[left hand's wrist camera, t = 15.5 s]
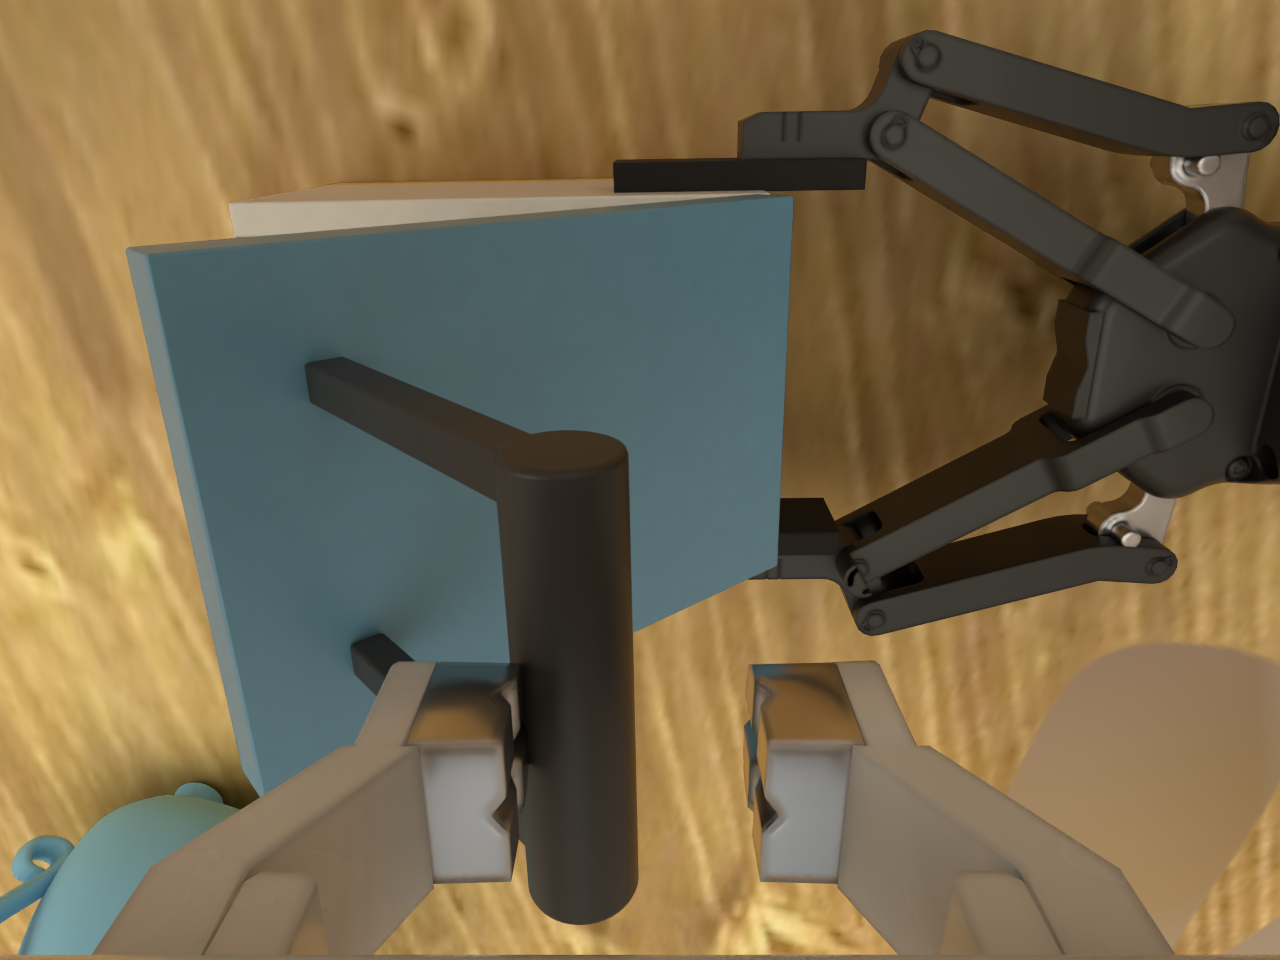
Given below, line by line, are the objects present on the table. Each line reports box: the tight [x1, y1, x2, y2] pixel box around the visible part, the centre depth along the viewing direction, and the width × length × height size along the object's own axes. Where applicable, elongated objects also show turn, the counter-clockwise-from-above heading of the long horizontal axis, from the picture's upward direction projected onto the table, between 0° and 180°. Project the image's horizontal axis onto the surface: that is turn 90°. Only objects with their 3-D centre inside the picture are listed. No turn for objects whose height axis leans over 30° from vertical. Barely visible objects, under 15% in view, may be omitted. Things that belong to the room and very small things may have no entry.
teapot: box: [0, 782, 240, 955], centre depth 36 cm, size 13×14×11 cm
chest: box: [229, 178, 771, 238], centre depth 28 cm, size 14×10×9 cm
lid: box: [126, 194, 794, 925], centre depth 16 cm, size 14×10×9 cm
